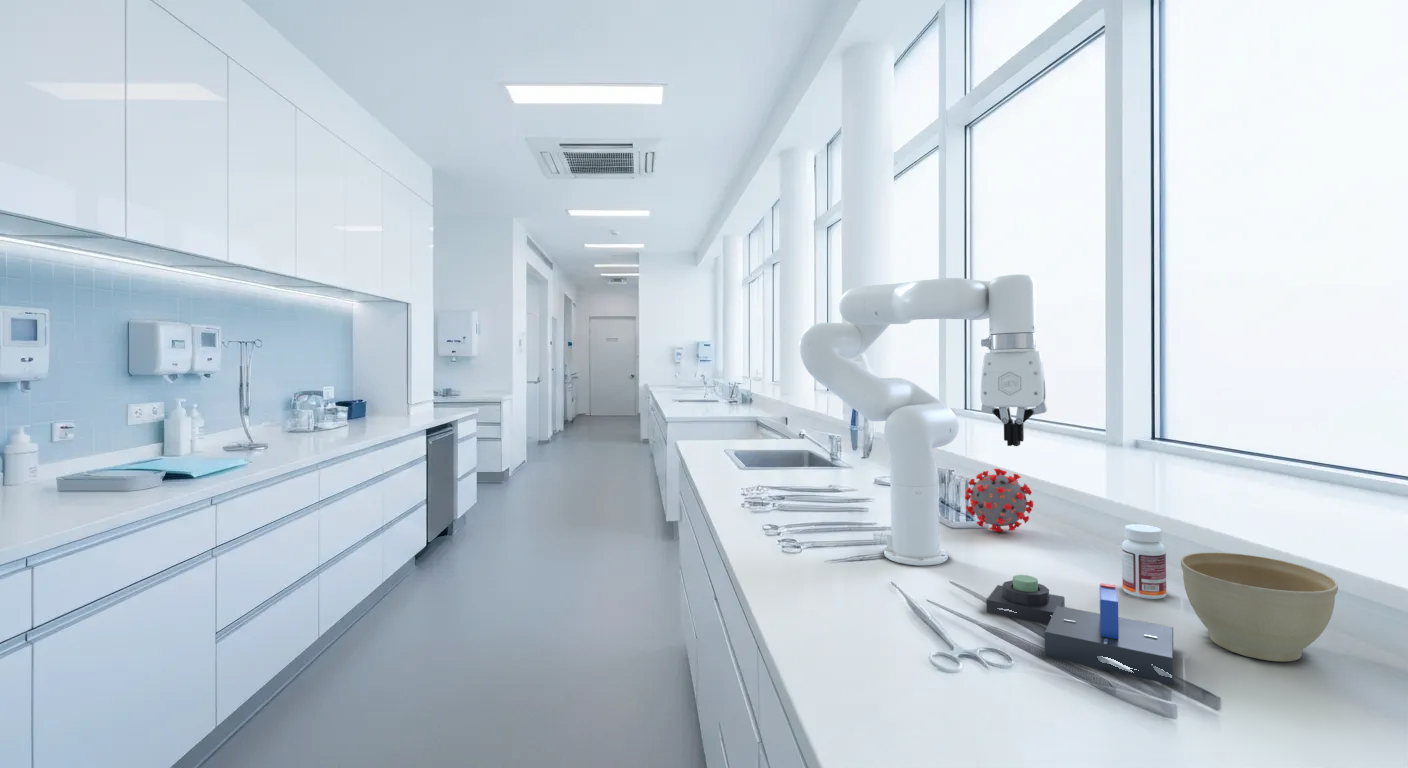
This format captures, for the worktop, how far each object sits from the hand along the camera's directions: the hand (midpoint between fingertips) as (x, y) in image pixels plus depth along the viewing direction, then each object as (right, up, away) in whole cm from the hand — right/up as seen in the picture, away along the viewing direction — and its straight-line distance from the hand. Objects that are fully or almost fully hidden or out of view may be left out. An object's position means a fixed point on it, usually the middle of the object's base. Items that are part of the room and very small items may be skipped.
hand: (1013, 445), depth 113 cm
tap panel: (-1, -26, -28) cm, 38 cm away
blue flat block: (-1, -22, -28) cm, 36 cm away
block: (-4, -26, -13) cm, 29 cm away
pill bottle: (+19, -25, -7) cm, 32 cm away
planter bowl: (+20, -26, -27) cm, 42 cm away
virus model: (+13, -24, +34) cm, 44 cm away
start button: (-5, -22, -13) cm, 26 cm away
